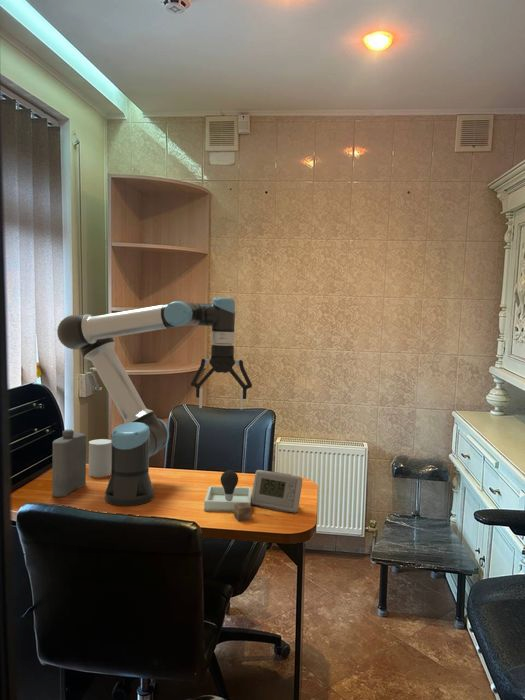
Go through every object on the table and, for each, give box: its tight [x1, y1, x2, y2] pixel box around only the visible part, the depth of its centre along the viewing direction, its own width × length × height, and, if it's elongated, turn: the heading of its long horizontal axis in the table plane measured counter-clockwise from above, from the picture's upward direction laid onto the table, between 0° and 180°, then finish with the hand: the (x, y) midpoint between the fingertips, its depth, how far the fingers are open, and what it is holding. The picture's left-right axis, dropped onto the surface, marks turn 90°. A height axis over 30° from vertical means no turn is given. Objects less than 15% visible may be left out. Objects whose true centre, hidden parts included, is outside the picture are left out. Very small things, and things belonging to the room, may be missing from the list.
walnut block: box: [233, 503, 253, 523], centre depth 153 cm, size 4×4×4 cm
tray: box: [203, 485, 252, 513], centre depth 165 cm, size 14×14×3 cm
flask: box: [51, 429, 87, 498], centre depth 173 cm, size 15×6×20 cm, turn 167°
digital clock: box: [251, 469, 303, 514], centre depth 163 cm, size 16×9×11 cm, turn 54°
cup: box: [88, 438, 112, 478], centre depth 191 cm, size 8×8×12 cm
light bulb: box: [220, 469, 239, 501], centre depth 165 cm, size 6×6×10 cm
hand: (221, 408), depth 174 cm, fingers open, 13 cm apart
